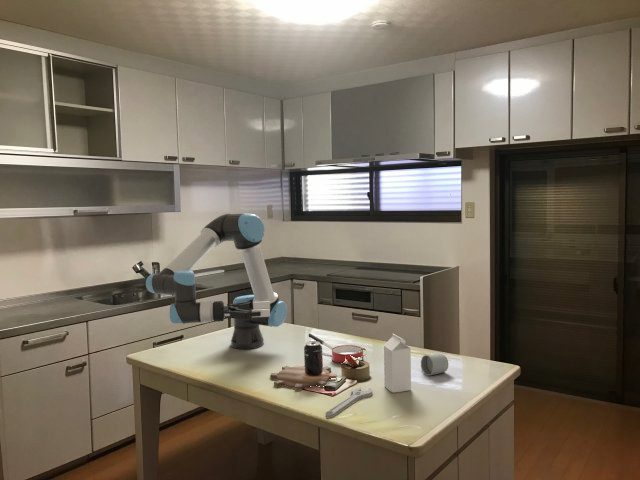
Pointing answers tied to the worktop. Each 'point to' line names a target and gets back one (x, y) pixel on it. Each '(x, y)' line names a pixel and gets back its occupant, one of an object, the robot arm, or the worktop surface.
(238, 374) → the worktop surface
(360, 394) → the adjustable wrench
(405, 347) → the milk carton
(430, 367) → the ceramic mug
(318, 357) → the beverage can
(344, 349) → the red saucepan
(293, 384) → the sprocket plate
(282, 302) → the robot arm
